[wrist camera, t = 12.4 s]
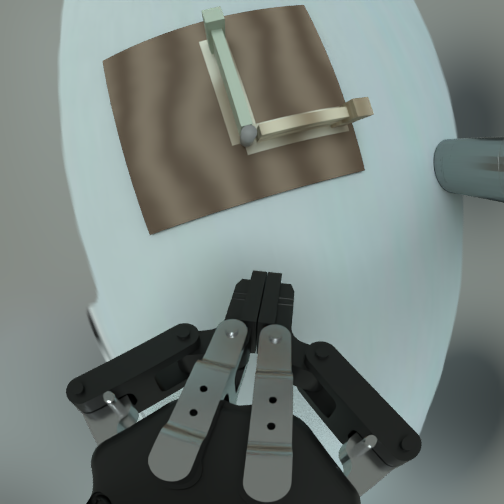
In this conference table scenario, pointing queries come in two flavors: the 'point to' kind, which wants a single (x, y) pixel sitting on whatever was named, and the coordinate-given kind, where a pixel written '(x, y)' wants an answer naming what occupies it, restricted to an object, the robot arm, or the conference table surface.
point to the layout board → (225, 116)
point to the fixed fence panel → (316, 119)
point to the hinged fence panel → (228, 73)
